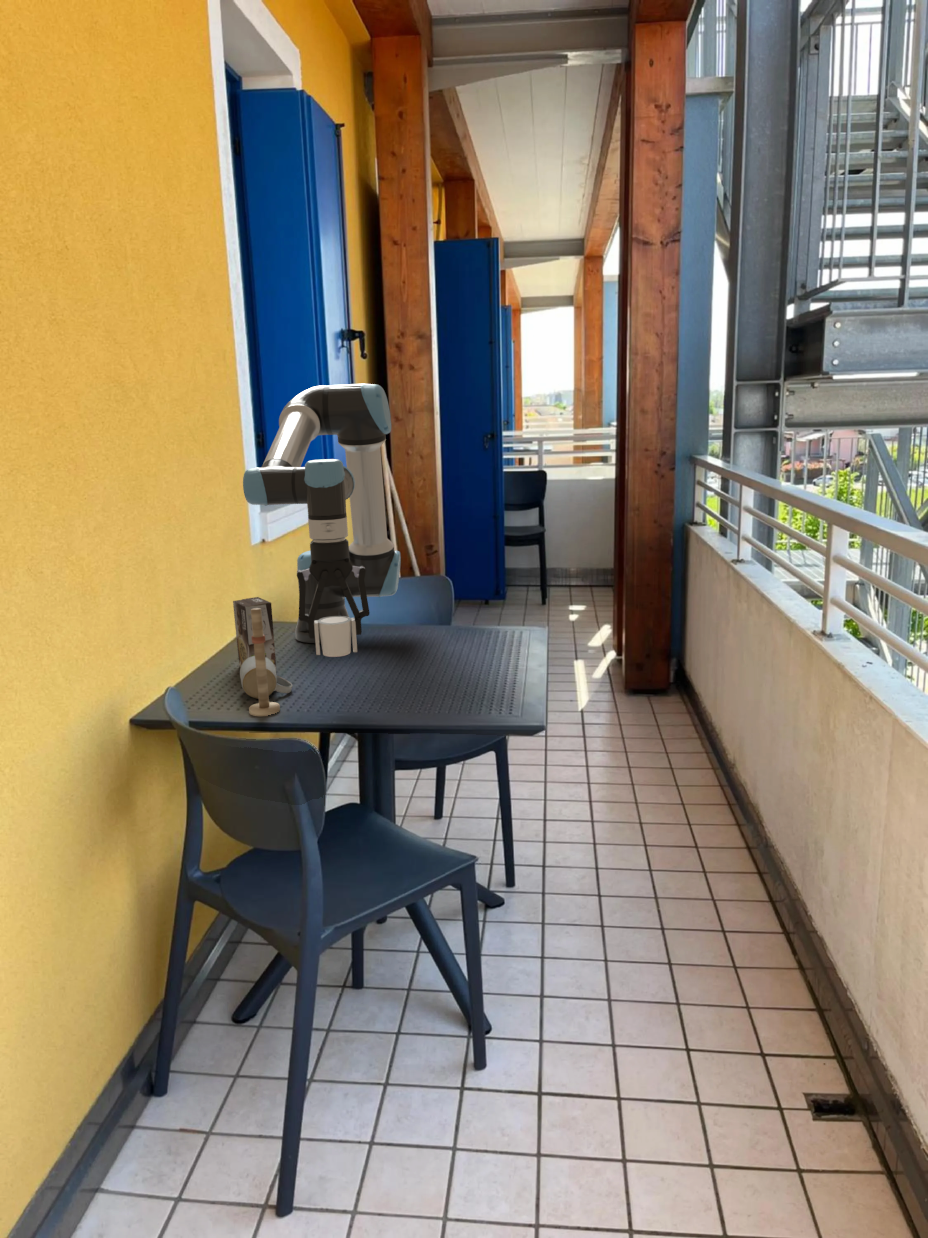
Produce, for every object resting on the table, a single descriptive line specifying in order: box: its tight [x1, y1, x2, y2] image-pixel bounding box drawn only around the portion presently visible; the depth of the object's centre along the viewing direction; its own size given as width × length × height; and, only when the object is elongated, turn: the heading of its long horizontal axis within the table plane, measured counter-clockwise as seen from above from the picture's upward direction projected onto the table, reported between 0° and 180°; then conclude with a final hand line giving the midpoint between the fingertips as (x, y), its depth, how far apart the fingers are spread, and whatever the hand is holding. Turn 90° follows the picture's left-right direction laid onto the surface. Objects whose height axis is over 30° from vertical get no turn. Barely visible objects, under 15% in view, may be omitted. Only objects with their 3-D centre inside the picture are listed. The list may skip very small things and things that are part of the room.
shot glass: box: [318, 616, 352, 658], centre depth 184 cm, size 7×7×7 cm
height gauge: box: [248, 608, 281, 717], centre depth 180 cm, size 6×6×21 cm
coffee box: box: [232, 596, 277, 669], centre depth 211 cm, size 9×6×16 cm
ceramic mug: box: [239, 656, 293, 700], centre depth 193 cm, size 11×8×8 cm
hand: (336, 651), depth 185 cm, fingers closed on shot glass, 7 cm apart
